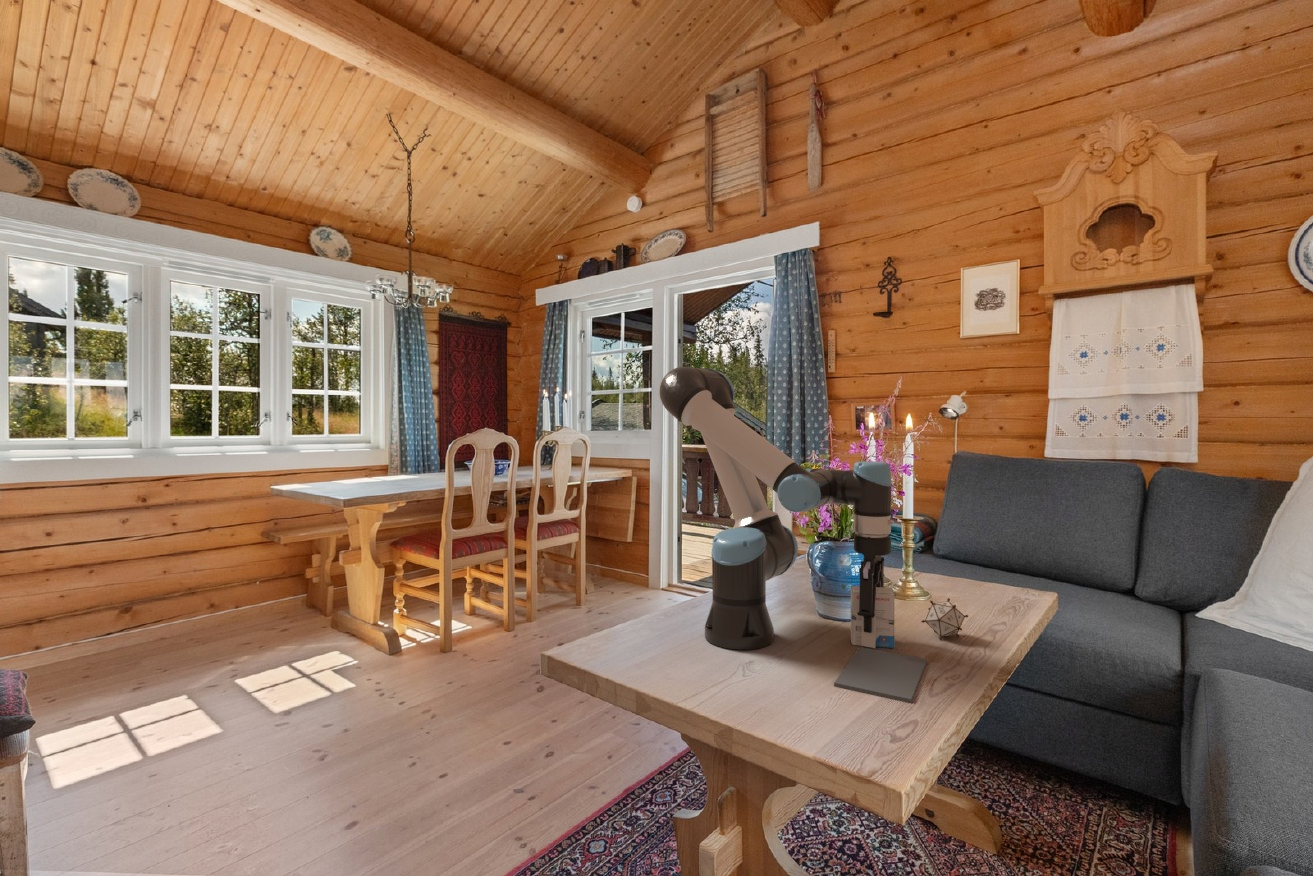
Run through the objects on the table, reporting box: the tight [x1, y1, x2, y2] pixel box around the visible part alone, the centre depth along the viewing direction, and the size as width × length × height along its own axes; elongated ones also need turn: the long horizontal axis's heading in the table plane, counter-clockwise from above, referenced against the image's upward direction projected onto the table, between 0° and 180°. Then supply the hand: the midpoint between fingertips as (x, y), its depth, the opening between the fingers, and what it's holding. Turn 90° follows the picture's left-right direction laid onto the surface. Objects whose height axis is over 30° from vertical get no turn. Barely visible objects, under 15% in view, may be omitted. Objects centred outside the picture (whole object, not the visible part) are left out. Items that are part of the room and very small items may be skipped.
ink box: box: [850, 585, 895, 649], centre depth 130 cm, size 9×5×12 cm, turn 76°
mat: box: [833, 646, 928, 704], centre depth 115 cm, size 13×20×1 cm, turn 149°
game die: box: [920, 597, 969, 641], centre depth 134 cm, size 9×8×10 cm
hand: (871, 641), depth 131 cm, fingers closed on ink box, 6 cm apart
